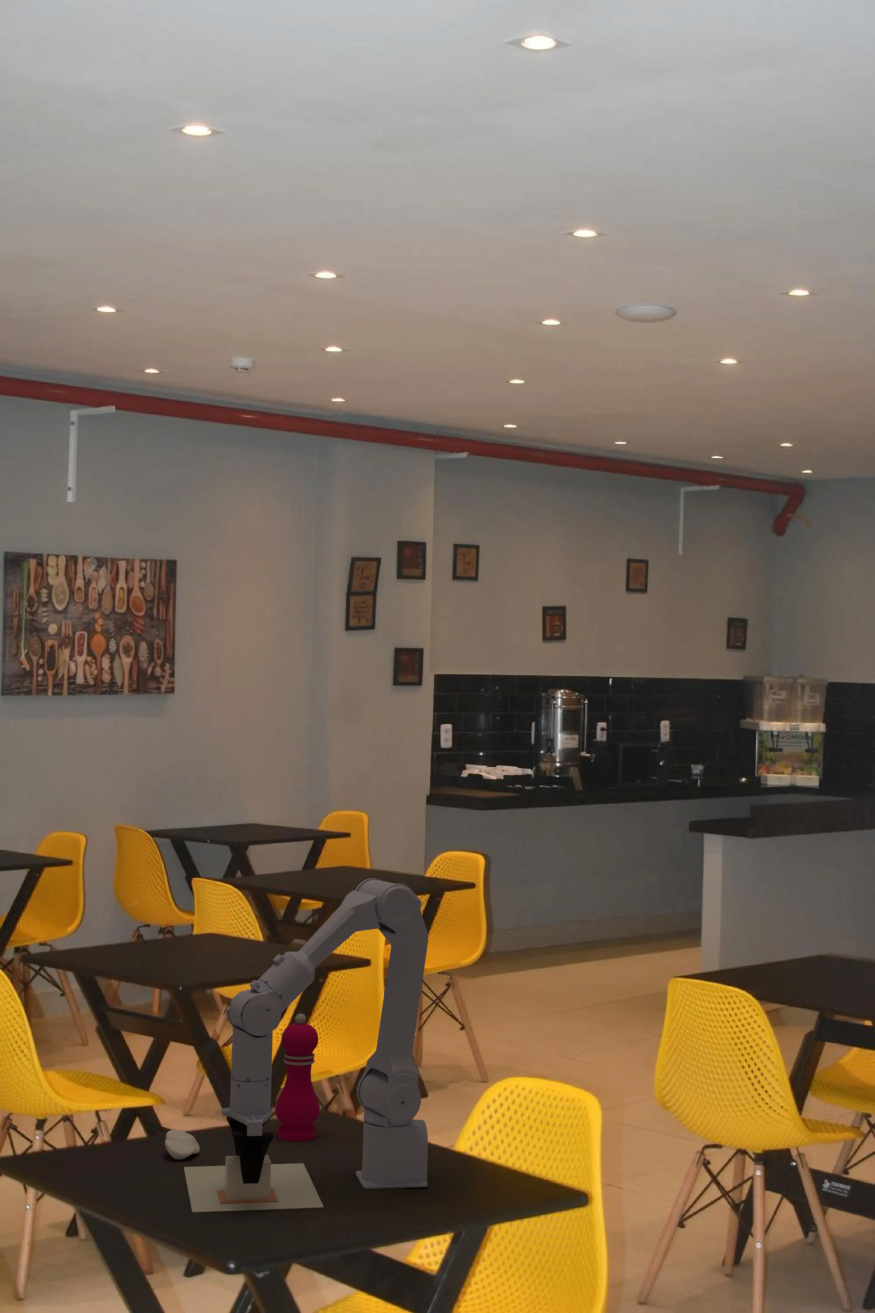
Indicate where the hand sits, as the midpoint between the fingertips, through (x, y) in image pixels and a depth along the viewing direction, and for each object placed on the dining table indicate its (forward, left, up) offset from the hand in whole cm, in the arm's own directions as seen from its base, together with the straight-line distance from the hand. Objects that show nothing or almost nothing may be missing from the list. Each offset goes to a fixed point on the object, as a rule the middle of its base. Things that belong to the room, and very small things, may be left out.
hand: (248, 1175), depth 217 cm
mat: (-1, -5, -3) cm, 6 cm away
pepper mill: (-11, -32, -3) cm, 34 cm away
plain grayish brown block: (0, 0, -3) cm, 3 cm away
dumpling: (+8, -22, -4) cm, 24 cm away
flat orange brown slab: (0, 0, -3) cm, 3 cm away
